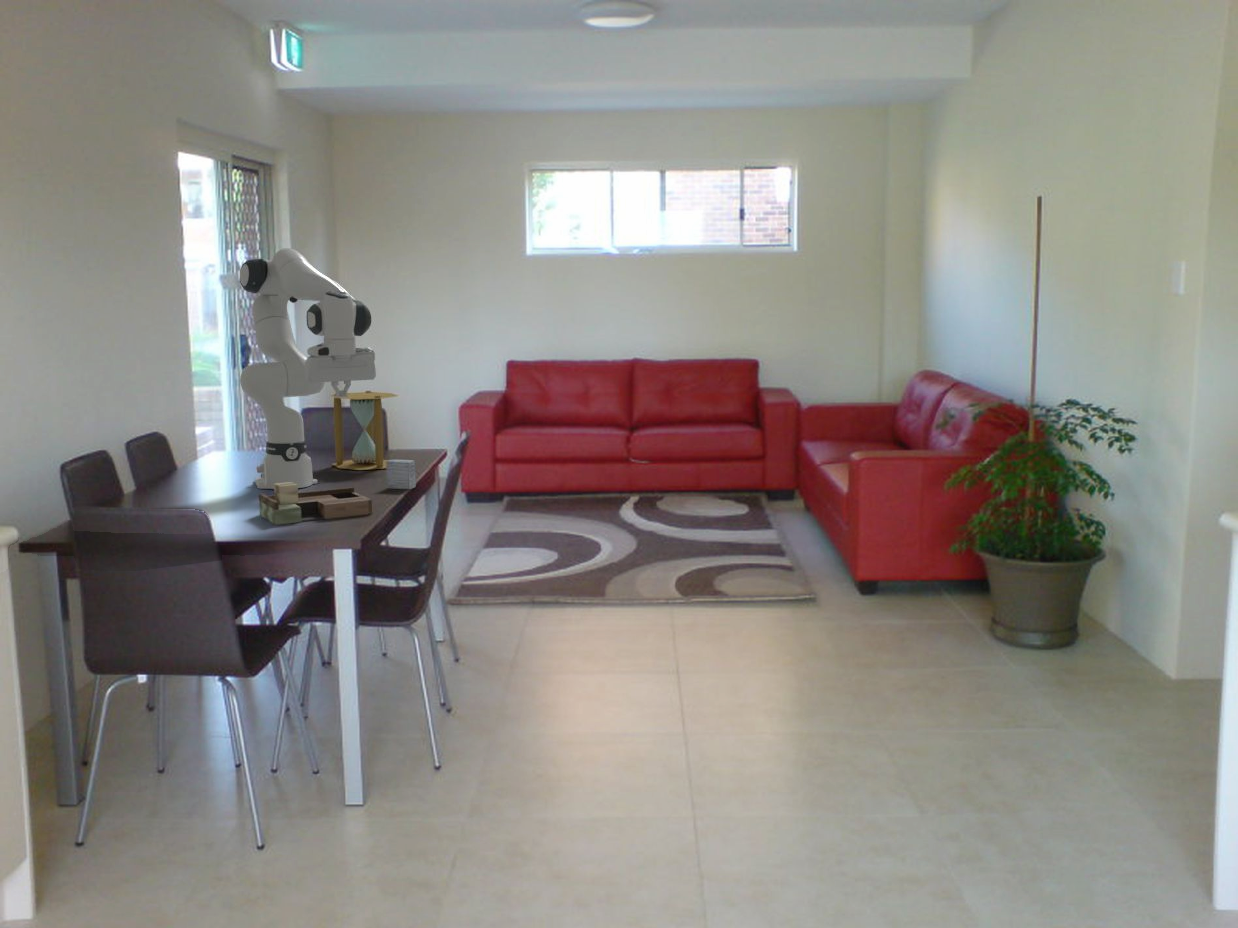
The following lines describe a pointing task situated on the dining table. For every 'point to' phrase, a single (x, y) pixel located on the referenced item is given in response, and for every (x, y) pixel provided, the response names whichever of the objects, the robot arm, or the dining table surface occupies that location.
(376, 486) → the dining table surface
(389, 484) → the medicine box
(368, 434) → the hourglass
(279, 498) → the maple block
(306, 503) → the board
